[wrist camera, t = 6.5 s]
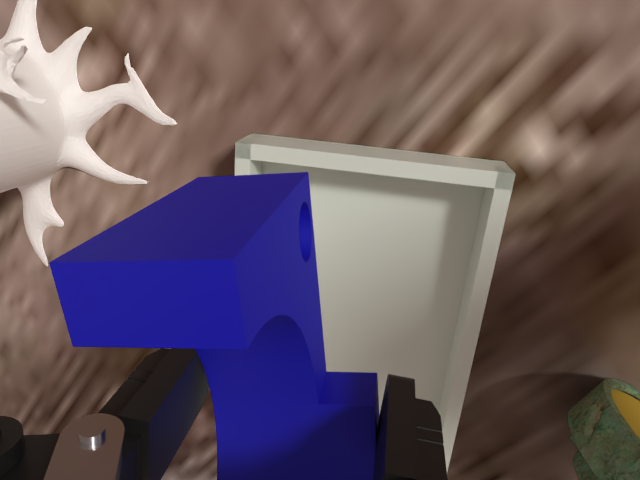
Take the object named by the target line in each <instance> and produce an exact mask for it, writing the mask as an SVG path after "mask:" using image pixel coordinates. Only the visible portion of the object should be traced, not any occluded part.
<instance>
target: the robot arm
mask: <svg viewBox="0 0 640 480" xmlns="http://www.w3.org/2000/svg"><path fill="white" fill-rule="evenodd" d="M208 387H209V383H208V379H207V376H206V373H205V370H204V367H203V365H202V362H201V360H200V358H199V355H198V353H197V352H196V350H195V349H193V348H172V349H171V350H170V349H165V348H161V349H159V350H157V351H155V352H154V353H152V354H150V355H148V356H147V357H146V358H145V359H144V360H143V361H142V362H141V363H140V365H139V366H138V367H137V368H136V371H134V372H133V373H132V374H131V375H130V376H129V378H128V380H126V381H125V382H124V383H123V385H122V386H121V387H120V388H119V389H118V390H117V392H116V393H115V394H114V395H113V396H112V397H111V399H110V400H109V401H108V402H107V403H106V405H105V406H104V407H103V408H102V409H101V410H100V412H99V413H97V414H90V415H86V416H83V417H80V418H78V419H76V420H74V421H72V422H71V423H69V424H68V425H67V426H66V427H65V428H64V429H63V430H62V432H61V433H59V434H47V435H25V436H24V435H23V428H22V425H21V423H20V422H19V421H18V420H16V419H14V418H11V417H6V416H0V480H161V478H162V476H163V475H164V473H165V471H166V469H167V468H168V466H169V464H170V462H171V461H172V459H173V457H174V455H175V454H176V452H177V450H178V448H179V447H180V445H181V443H182V441H183V440H184V438H185V436H186V434H187V433H188V431H189V429H190V427H191V426H192V424H193V422H194V420H195V419H196V417H197V415H198V413H199V412H200V410H201V408H202V406H203V404H204V402H205V399H206V396H207V392H208ZM443 443H444V442H443V433H442V423H441V415H440V414H439V412H438V411H437V409H436V408H435V406H434V404H433V403H432V401H428V400H423V399H418V398H416V396H415V379H413V378H408V377H402V376H397V375H392V374H388V376H387V380H386V385H385V390H384V395H383V400H382V405H381V410H380V415H379V420H378V427H377V440H376V451H375V458H374V473H373V480H448V479H447V470H446V461H445V451H444V446H443Z"/></svg>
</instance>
